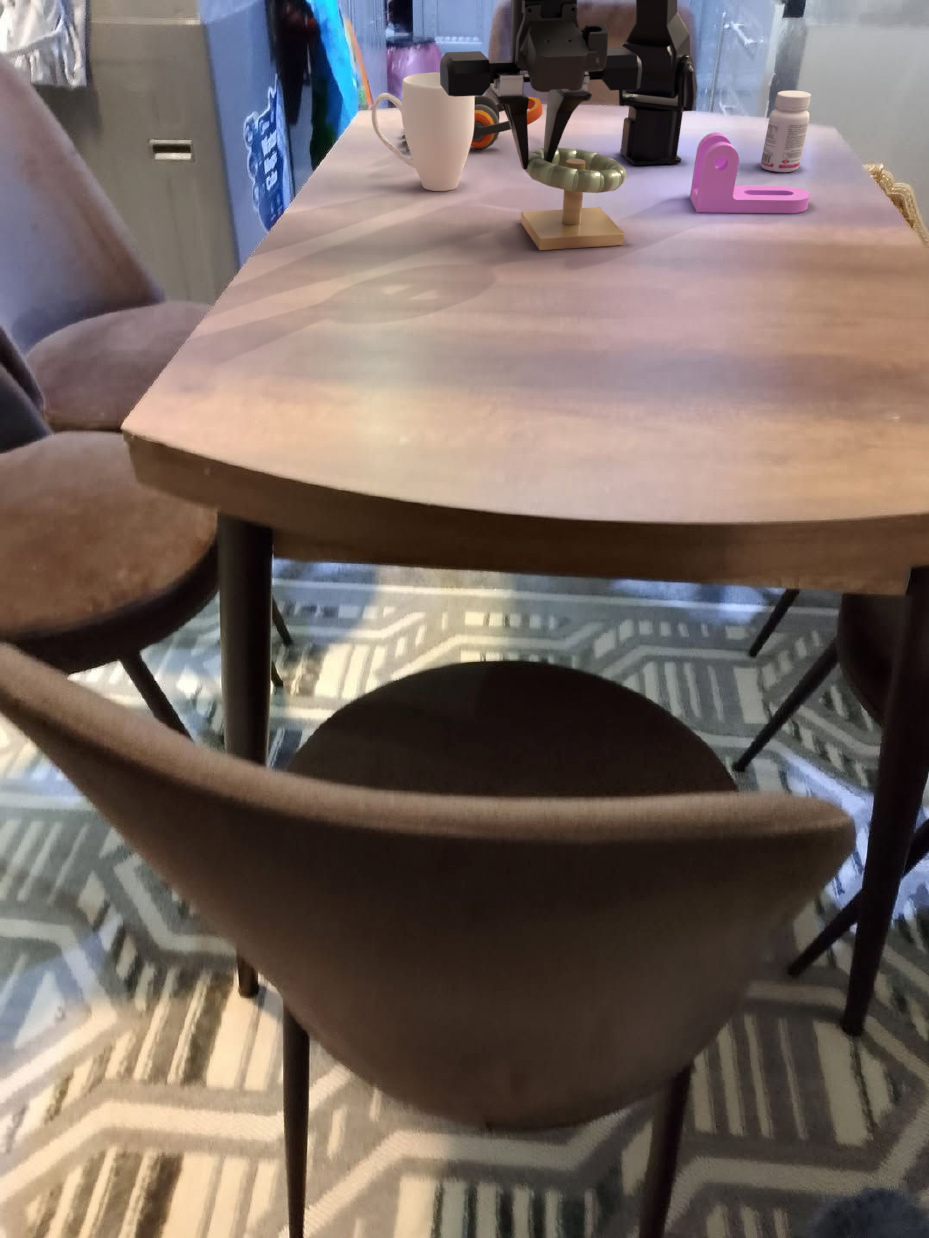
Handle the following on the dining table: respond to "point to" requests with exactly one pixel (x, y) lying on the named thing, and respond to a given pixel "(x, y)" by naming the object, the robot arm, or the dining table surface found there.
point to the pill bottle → (786, 132)
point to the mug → (432, 129)
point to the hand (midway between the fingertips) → (535, 168)
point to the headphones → (493, 120)
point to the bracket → (723, 196)
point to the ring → (576, 171)
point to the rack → (571, 223)
